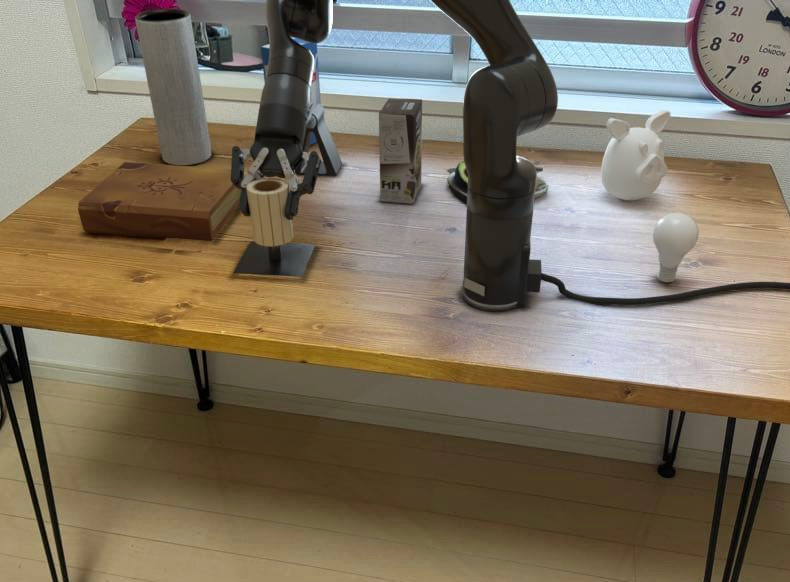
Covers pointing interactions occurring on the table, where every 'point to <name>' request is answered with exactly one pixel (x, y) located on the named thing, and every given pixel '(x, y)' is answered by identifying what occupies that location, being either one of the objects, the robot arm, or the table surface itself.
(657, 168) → the piggy bank
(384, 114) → the coffee box
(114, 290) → the table surface
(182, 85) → the vase
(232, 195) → the diary
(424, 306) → the table surface
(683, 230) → the lightbulb
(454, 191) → the salad plate
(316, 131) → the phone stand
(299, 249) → the stand
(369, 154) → the table surface
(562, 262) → the table surface
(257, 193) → the wooden cup
